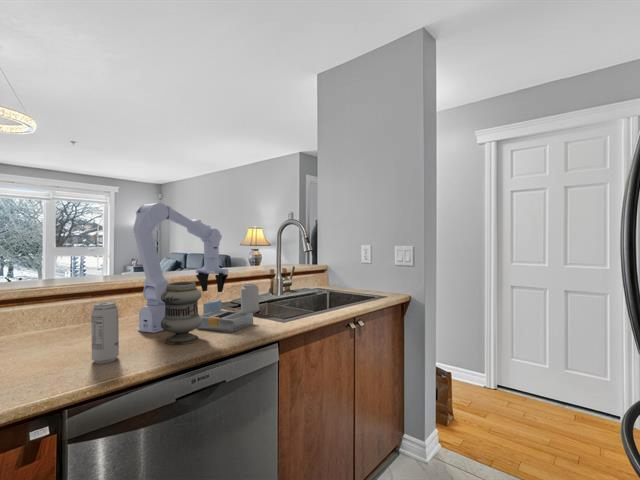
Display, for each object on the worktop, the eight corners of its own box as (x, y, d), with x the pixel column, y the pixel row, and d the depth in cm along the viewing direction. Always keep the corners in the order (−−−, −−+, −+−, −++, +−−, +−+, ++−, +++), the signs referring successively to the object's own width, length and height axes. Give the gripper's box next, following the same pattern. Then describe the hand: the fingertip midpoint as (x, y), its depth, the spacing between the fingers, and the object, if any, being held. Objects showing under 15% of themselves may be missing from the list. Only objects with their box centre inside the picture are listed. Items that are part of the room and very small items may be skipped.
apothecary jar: (157, 347, 101) (156, 286, 101) (164, 336, 112) (163, 281, 112) (201, 344, 104) (200, 284, 104) (203, 333, 116) (203, 279, 115)
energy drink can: (122, 359, 91) (121, 303, 91) (96, 366, 86) (95, 306, 86) (114, 354, 95) (113, 300, 95) (88, 360, 90) (88, 303, 90)
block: (208, 318, 136) (208, 303, 136) (203, 318, 137) (203, 303, 137) (221, 314, 144) (221, 300, 144) (216, 314, 145) (216, 299, 145)
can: (260, 313, 146) (260, 284, 146) (242, 314, 143) (242, 285, 143) (257, 309, 153) (256, 282, 153) (239, 311, 150) (239, 283, 150)
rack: (232, 332, 116) (232, 320, 116) (194, 328, 122) (194, 316, 122) (253, 323, 128) (253, 312, 128) (217, 320, 134) (217, 309, 134)
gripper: (232, 257, 141) (233, 290, 142) (203, 257, 146) (204, 289, 147) (221, 259, 135) (222, 293, 135) (192, 258, 140) (192, 291, 140)
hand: (212, 291), depth 140 cm, fingers open, 7 cm apart
